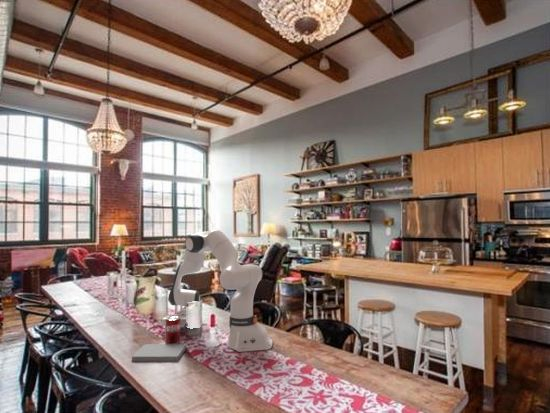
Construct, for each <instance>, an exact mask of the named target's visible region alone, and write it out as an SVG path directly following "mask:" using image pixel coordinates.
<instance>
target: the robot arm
mask: <svg viewBox="0 0 550 413" xmlns="http://www.w3.org/2000/svg"><path fill="white" fill-rule="evenodd" d="M184 245H185V250H184V258H183V260H182V262H181V263H179V264H178V266H177V268H176V271H175V274H174V278H173V281H172V285H171V288H170V291H169V293H168V296H167V297H168V299H167V300H168V303H169V304H170V305H171V306H177V307H178V306H181V307H183V308H182V309H180V310H179V311H178V312H177V314H175V315H174V314H171V315H169V314H168V315H166V316H164V317H162V319H161V325H162V326H165V324H166V319H167V318H168V317H172V316H178V317H180V319H181V324H180V327H181V326H182V327H189V326H188V323H187V322H186V303H187V302H192V301H201V302H202V296H201V294H200V292H199V291H198V290H194V289H184V288H181V282H182V278H183V277H185V276H186V275H190V274H194V273H196V272H199V271H200V270H202V267H203V265H204V261H205V260H204V259H205V252H209V251H210V252H211V253H212V255H213V256H214V257H215V259H216V260H217V262H218V263H219V266H220V269H221V272H220V273H219V282H220V285H221V287H222V288H223V289H225V290H232V291H233V290H236V291H235V293H234V294H233V295H232V297H231V299H230V315H229V321H228V322H229V326H228V327H229V333H228V340H227V343H226V346H227V347H228V348H229V349H231V350H235V351H236V352H238V353H239V352H240V353H243V352H254V351H255V352H256V351H265V350H270V349H271V348H272V347H273V339H272V338H270V337H269V334H268V331H267V329H266V328H265V327H263V326H262V325H261V324H259V323H258V318H257V315H256V314H255V315H254V308H253V307H254V296H255V293H256V289H257V287H258V284H259V283H260V282H261V280H262V278H263V270H262V268H261V267H260V266H259V265H258V264H253V263H247V264H242V265H241V264H240V263H239V261H238V259H239V258H238V257H239V251H238V250H237V248H236V247H235V246H234V244H233V242H232V241H231V240H230V239H229V238H228V237H227V235H226V234H225V233H224V232H223V231H222V230H219V229H212V230H211V231H210V230H209V231H207V230H206V231H205V230H204V231H200V232H199V231H198V232H196V233H191V234H188V235H187V236H186V238H185V241H184Z"/></svg>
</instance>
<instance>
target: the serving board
mask: <svg viewBox="0 0 550 413" xmlns="http://www.w3.org/2000/svg"><path fill="white" fill-rule="evenodd" d="M186 350H187V344H186V343H183V344H182V343H181V344H178V343H177V344H166V343H165V344H164V343H163V344H162V343H161V344H159V343H157V344H155V343H154V344H153V343H150V344H149V343H148V344H147V343H145V344H144V345H143V346H141V347H140V348H139V349H138V350H137V351H136V352H135V353H134V354H133V355H132V356H131V362H179V360H180V358H181V357H182V356H183V355H184V352H185V351H186Z"/></svg>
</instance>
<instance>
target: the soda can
mask: <svg viewBox="0 0 550 413" xmlns="http://www.w3.org/2000/svg"><path fill="white" fill-rule="evenodd" d="M180 324H181V319H180V317H178V316H172V317H168V318H167V319H166V324H165V325H164V326H165V327H164V328H165V330H164V331H165V333H164V335H165V336H164V343H165V344H178V343H180V342H181V325H180Z"/></svg>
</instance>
